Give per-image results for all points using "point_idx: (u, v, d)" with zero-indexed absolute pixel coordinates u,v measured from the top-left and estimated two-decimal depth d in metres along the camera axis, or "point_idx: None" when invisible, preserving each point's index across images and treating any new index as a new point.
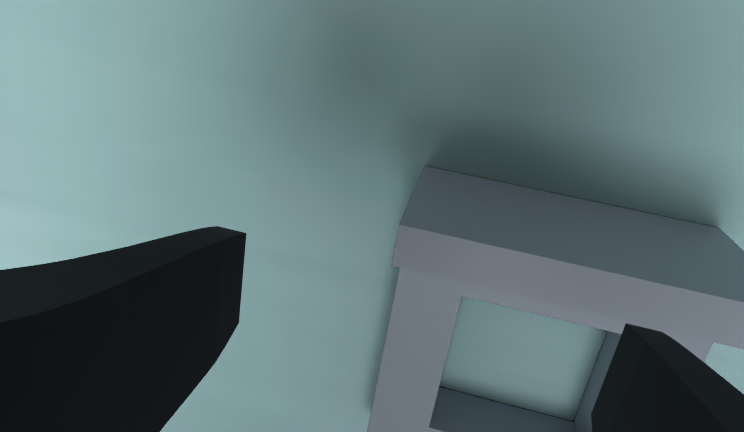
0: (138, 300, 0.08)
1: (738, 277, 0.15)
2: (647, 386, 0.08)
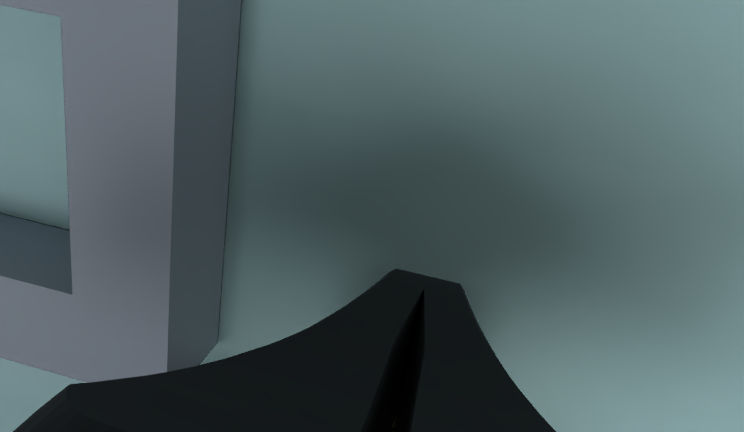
0: (389, 365, 0.07)
1: None
2: (417, 329, 0.09)
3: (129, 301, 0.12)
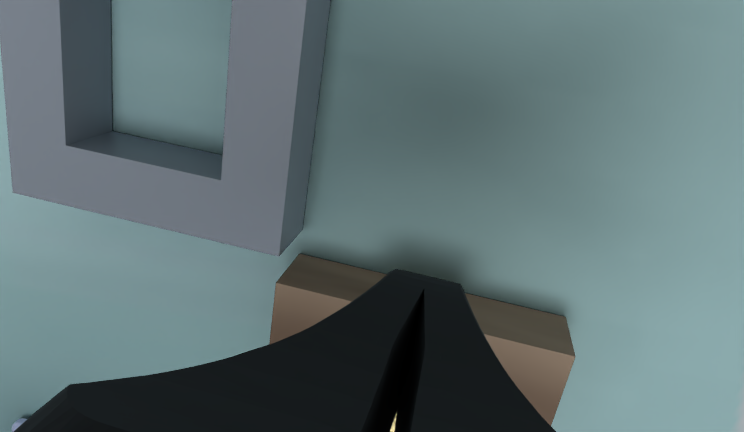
0: (390, 366, 0.07)
1: None
2: (417, 329, 0.09)
3: (260, 183, 0.18)
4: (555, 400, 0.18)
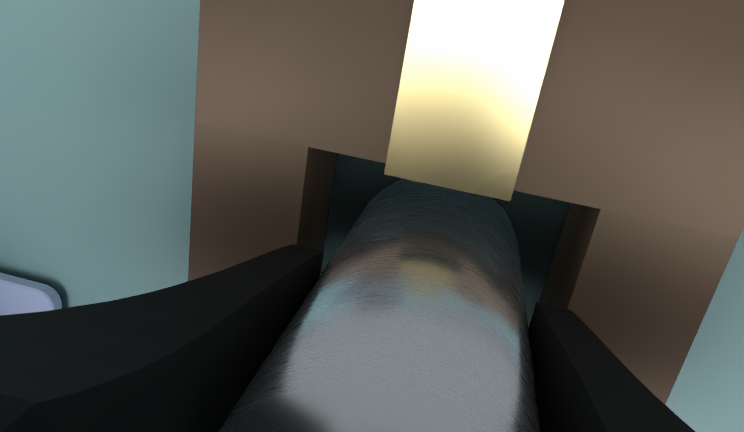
0: (243, 328, 0.07)
1: None
2: (543, 360, 0.09)
3: None
4: None
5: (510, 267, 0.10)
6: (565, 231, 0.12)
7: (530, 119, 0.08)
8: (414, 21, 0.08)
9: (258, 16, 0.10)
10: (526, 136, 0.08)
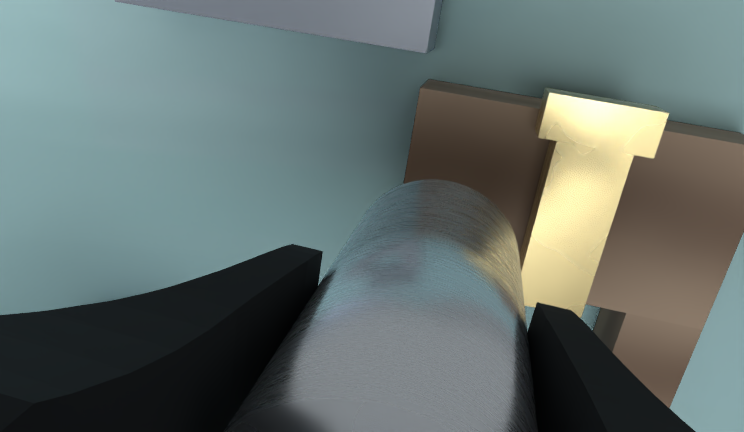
0: (243, 327, 0.07)
1: None
2: (544, 360, 0.09)
3: None
4: None
5: (506, 268, 0.10)
6: (602, 314, 0.20)
7: (592, 279, 0.16)
8: (533, 232, 0.16)
9: None
10: (589, 287, 0.16)
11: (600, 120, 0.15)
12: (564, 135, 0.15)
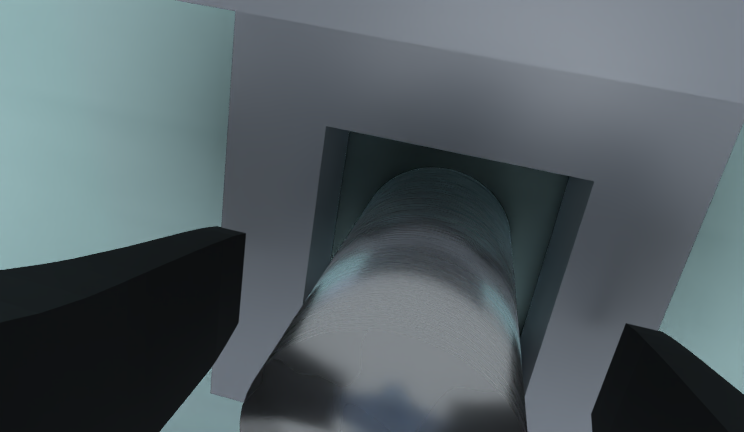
0: (138, 300, 0.08)
1: None
2: (647, 386, 0.08)
3: (581, 412, 0.13)
4: None
5: (492, 236, 0.11)
6: None
7: None
8: None
9: None
10: None
11: None
12: None
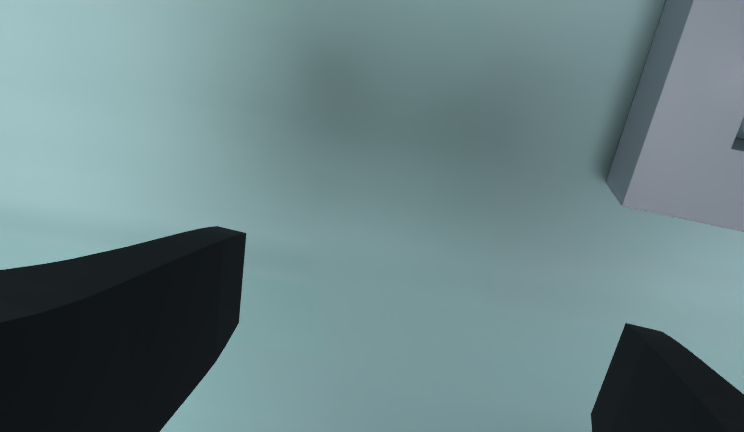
0: (137, 300, 0.08)
1: None
2: (647, 386, 0.08)
3: None
4: None
5: None
6: None
7: None
8: None
9: None
10: None
11: None
12: None
